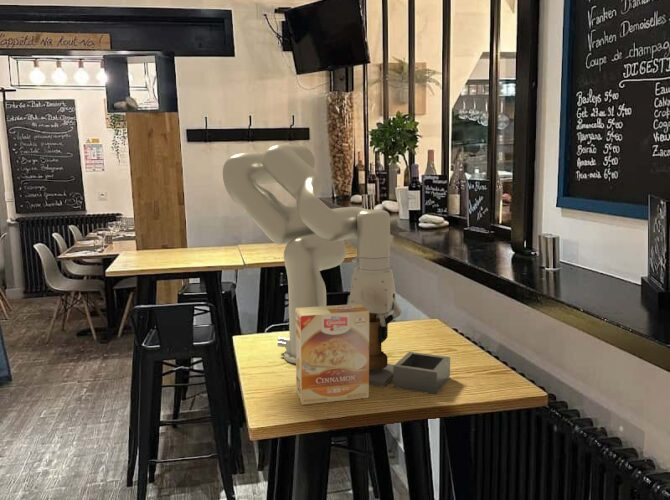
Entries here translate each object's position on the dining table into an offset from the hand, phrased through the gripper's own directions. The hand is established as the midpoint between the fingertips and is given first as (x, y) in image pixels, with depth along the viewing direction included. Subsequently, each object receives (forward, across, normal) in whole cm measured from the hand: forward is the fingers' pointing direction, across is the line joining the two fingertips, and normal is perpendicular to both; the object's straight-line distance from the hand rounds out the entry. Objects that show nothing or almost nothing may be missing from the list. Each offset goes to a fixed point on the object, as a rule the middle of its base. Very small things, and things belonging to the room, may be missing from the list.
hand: (373, 339), depth 147 cm
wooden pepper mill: (+7, 0, 0) cm, 7 cm away
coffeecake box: (+9, -3, -15) cm, 18 cm away
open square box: (+9, +12, 0) cm, 15 cm away
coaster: (+9, 0, 0) cm, 9 cm away
